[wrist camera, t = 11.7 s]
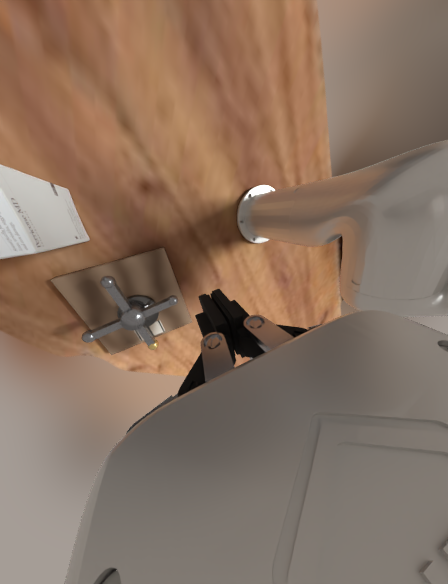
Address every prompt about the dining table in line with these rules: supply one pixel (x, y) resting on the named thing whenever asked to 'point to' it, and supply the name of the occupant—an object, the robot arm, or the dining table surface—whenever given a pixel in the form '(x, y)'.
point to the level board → (132, 281)
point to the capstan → (131, 313)
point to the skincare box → (35, 215)
